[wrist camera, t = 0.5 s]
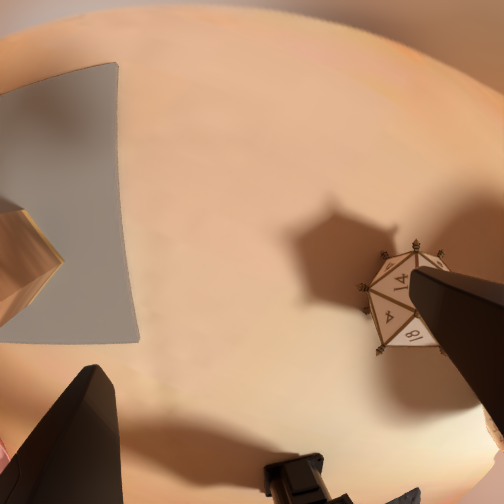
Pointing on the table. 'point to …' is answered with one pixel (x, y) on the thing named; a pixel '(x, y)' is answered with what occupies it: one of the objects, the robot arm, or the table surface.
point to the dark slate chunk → (408, 498)
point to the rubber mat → (69, 206)
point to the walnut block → (23, 262)
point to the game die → (400, 301)
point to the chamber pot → (493, 430)
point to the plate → (3, 457)
